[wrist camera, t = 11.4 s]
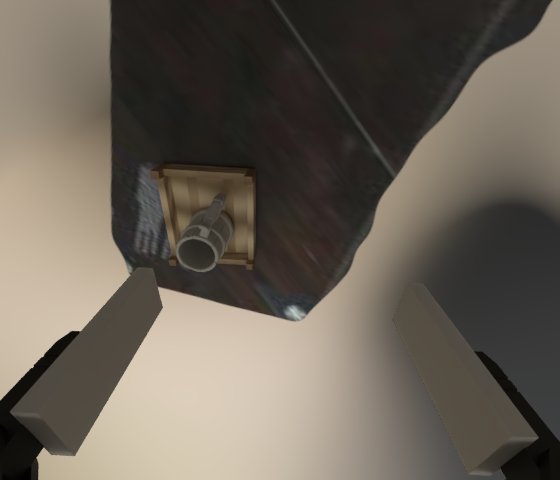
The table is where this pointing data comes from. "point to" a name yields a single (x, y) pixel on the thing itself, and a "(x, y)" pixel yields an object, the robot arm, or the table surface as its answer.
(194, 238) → the mug
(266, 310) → the table surface
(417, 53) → the table surface
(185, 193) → the wooden tray
